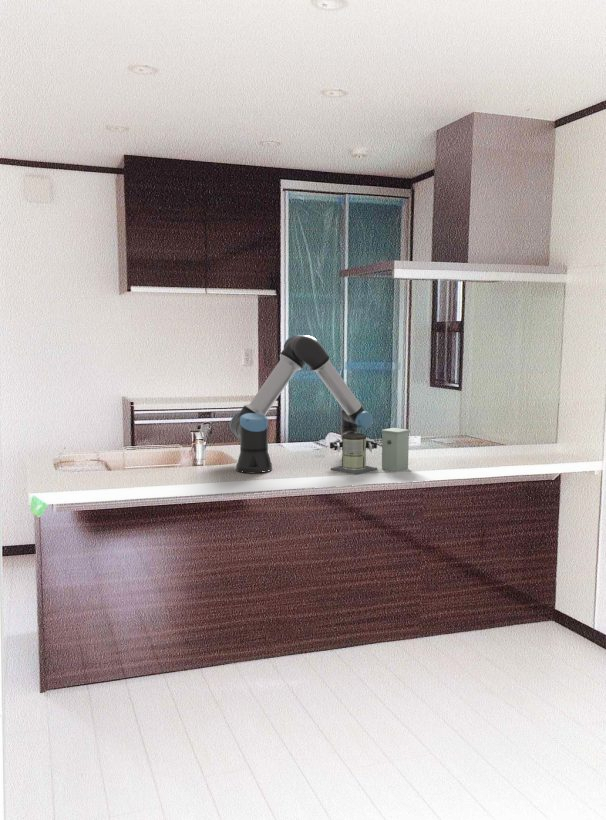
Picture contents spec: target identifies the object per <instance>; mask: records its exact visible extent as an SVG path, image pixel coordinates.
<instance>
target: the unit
mask: <svg viewBox="0 0 606 820" xmlns="http://www.w3.org/2000/svg"><path fill="white" fill-rule="evenodd" d="M380 432H381V433H382V434H381V435H382V436H381V437H382V439H381V469H383V470H387V471H392V472H400V471H405V470H408V469H409V442H410V440H409V439H410V437H409V436H410V435H409V434H410V433H411V430H410V429H406V428H400V427H399V428H398V427H391V428H384V429H381V431H380Z"/></svg>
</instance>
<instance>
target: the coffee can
mask: <svg viewBox="0 0 606 820" xmlns="http://www.w3.org/2000/svg"><path fill="white" fill-rule="evenodd" d="M366 439H367V434H365V433H348V434H343V435H342V439H341V441H342V447H341V448H342V449H341V452H342V453H341V456H342V459H341V462H342V463H341V466H342V468H343V469H346V470H363V469H365V468H366V466H367V463H366V462H367V448H366Z"/></svg>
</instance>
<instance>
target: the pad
mask: <svg viewBox="0 0 606 820" xmlns="http://www.w3.org/2000/svg"><path fill="white" fill-rule="evenodd" d="M331 469H332V470H331ZM330 470H331V471H335V470H336V471H335V472H340V471H341V473H345V472H346V474H351V475H360V474H365V473H370V472H373V471H377V470H378V467H376V466H369V465H366V468H365V469H363V470H346V469H343V468H342V465H338V466H333V467H331V468H330Z"/></svg>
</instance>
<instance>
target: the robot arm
mask: <svg viewBox="0 0 606 820" xmlns="http://www.w3.org/2000/svg"><path fill="white" fill-rule="evenodd" d="M330 360H331V357H330V355H329V354H328V353H327V351H326V350H325V348H324V347H323V345H321V343H320V341H318V339H316V338H315V337H314V336H311V335H303V334H294V335H291V336H289V337H288V338H287V339H286V340H285V342H284V344H283V349H282V351H281V352H280V354H279V361H278V363H277V364H276V365H275V367H273V370H272V371H271V372H270V374H269V375H268V377H267V378H266V380H265V381H264V383H263V384H262V386H261V387H260V388H259V390H258V391H257V393H256V394H255V396H253V398H252V400H251V401H250V403H248V404H244V405H243V407H242V408H241V409H240V411H239V412H237V413H236V414H234V415H233V416H232V418H231V420H230V423H229V426H230V428H229V429H230V431H231V432H232V434H233V436H234V437H235V438H236V439H238V440H240V441H239V443H240V444H239V445H240V446H239V447H240V449H239V450H240V451H239V456H238V459H237V463H236V471H237V470H238V471H237V472H239V471H243V472H262V471H268V470H271V469H272V470H273V464H272V462H271V458H270V454H269V441H268V440H269V421H268V417H267V416H266V415H267V414H268V412H269V411H270V409H271V408H272V407H273V405H274V403H275V402H276V400H277V399H278V398H279V396H280V395H281V394H282V392H283V390H284V389H285V387H286V386H287V385H288V384H289V382H290V380H291V379H292V378H293V376H294V375H295V373H296V372H297V371H301V370H302V369H303V368H304V366H305V365H307V366H308V368H310V370H311V371H312V372H315V373H316V375H318V377H319V378H320V380H321V381H322V382H323V384H324V385H325V387H326V388H327V389H328V391H329V392H330V394H331V395H332V396H333V397H334V399H335V400H336V401H337V402H338V404H339V405H340V406H341V411H340V412H341V429H340V431H341V432H340V439H339V438H337V439H336V440H332V441H330V442H329V449H331V450H332V449H333V451H337V453H340V451H341V448H342V435H343V434H348V433H358V432H359V429H368V428H369V427H370V426H371V425H372V423H373V420H374V419H373V416H372V414H371V413H370V412H368V411H367V410H365V408H364V407H363V405H362V404H361V403H360V401H359V400H358V398H357V397H356V396H355V394H354V393H353V392H352V389H350V387H349V386H348V385H347V384H346V382H345V381H344V379H343V378H342V376H341V375H340V373H339V372H338V371H337V369H336V367H335V366H334V365H333V364H332V362H331V361H330ZM358 428H359V429H358ZM377 448H378V442H377V441H373V440H369V439H367V438H366V449H368V450H369V452H370V453H372V452H373V450H374V449H377ZM272 470H271V471H272ZM243 472H242V473H243Z"/></svg>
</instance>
